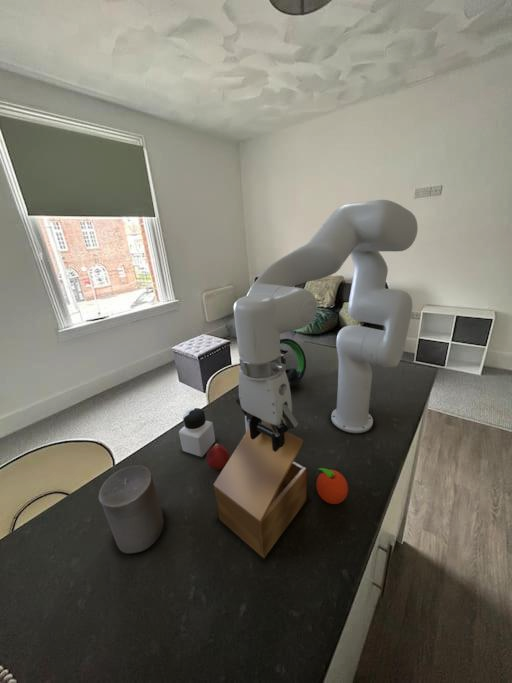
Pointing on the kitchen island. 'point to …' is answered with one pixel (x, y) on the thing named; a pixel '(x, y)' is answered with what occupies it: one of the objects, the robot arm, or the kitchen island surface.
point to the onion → (217, 457)
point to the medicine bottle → (196, 432)
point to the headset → (297, 375)
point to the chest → (276, 518)
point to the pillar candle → (132, 508)
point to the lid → (257, 470)
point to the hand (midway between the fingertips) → (267, 440)
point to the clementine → (331, 486)
